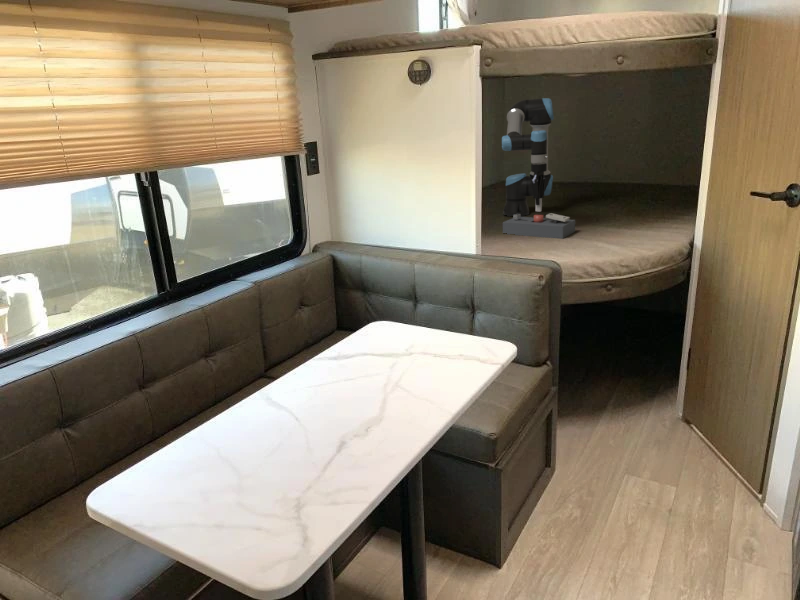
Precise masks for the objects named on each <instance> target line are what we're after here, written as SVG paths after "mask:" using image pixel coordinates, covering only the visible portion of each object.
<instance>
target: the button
mask: <svg viewBox="0 0 800 600" xmlns="http://www.w3.org/2000/svg"><path fill="white" fill-rule="evenodd" d="M533 217H534V222H538V223H542V222H543V218H545V216H544V214H540V213H539V214H538V213H537V214H533Z"/></svg>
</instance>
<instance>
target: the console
mask: <svg viewBox="0 0 800 600" xmlns="http://www.w3.org/2000/svg"><path fill="white" fill-rule="evenodd" d="M575 232H576V219H569V220H567V221H565V222H563V221H559V220H554V219H550V218H546V217H543V222H542V223H538V222H534V216H533V217H530V216H528V217H527V216H520V219H518V220H513V217H512V218H509V219H507V220H504V221H503V222H502V234H503V233H507V234H506V235H510V234H515V235H514V236H522V235H523V237H526V236H527V237H534V238H535V237H539V238H551V239H565V238H566V237H568V236H570V235H572V234H573V233H575Z"/></svg>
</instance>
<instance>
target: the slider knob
mask: <svg viewBox="0 0 800 600" xmlns="http://www.w3.org/2000/svg"><path fill="white" fill-rule="evenodd" d="M520 217H521V216H520V214H514V215H513V217H512V218H513V220H518V219H520Z"/></svg>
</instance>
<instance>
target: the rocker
mask: <svg viewBox="0 0 800 600" xmlns="http://www.w3.org/2000/svg"><path fill="white" fill-rule="evenodd" d="M545 218H550V219H554V220H559V221H563V222H565V221H567V220H570V218H571V217H570V216H565V215H562V214H556V213H552V212H551V213H550V212H549V213H547V214H546V215H545Z"/></svg>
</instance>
